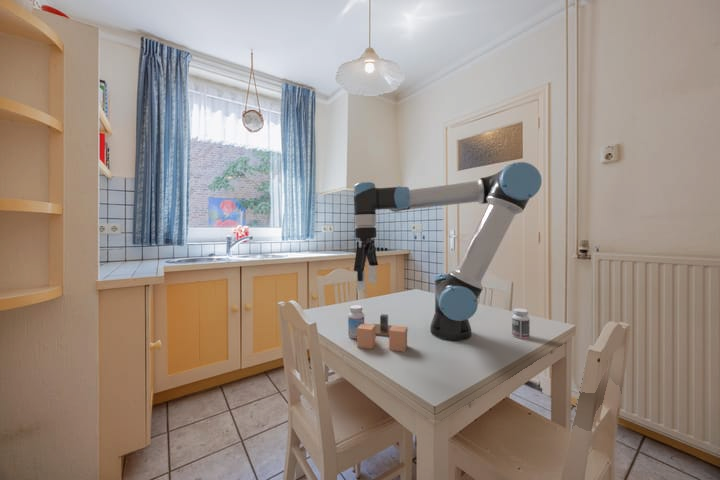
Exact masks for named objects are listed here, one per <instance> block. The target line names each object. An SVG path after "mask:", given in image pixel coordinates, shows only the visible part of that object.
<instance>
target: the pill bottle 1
mask: <svg viewBox="0 0 720 480" xmlns="http://www.w3.org/2000/svg"><path fill="white" fill-rule="evenodd" d="M349 310H350V311H349V312H348V314H347V315H348V316H347V317H348V318H347V321H348V322H347V326H348V329H347V331H348V337H349V338H350V339H356V340H357V328H358V327H359V326H360V324H361V323H363V324H365V313H364V312H363V306H362V305H359V304H356V305H351V306H349Z"/></svg>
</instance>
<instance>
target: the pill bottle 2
mask: <svg viewBox="0 0 720 480" xmlns="http://www.w3.org/2000/svg"><path fill="white" fill-rule="evenodd" d="M528 315H529V311H528V310H527V309H524V308H520V307H517V308H513V315H512V317H511V335H512V337H514V338H516V339H524V340H526V339H529V338H530V333H531V331H530V326H531V325H530V323H531V322H530V321H531V319H530V317H529V316H528Z"/></svg>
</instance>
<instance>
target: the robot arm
mask: <svg viewBox="0 0 720 480" xmlns="http://www.w3.org/2000/svg"><path fill="white" fill-rule="evenodd" d="M542 181H543V179H542V175H541V173H540V171H539V169H538V168H537V167H536V166H534V165H533V164H531V163H529V162H526V161H519V162H514V163H511V164H508V165H506V166H505V167H504V168H503V169H501V170H500V171H498V172H497V173H494V174H492V175H489V176H486V177H479V178H477V180H475V181H470V182H461V183H459V182H458V183H453V184H452V183H451V184H445V185H437V186H430V187H429V186H428V187H421V188H413V189H410V188H409V187H408V186H399V185H398V186H392V187H378V188H377V186H376V184H375V183H374V182H371V181H368V182H367V181H363V182H362V181H361V182H358V183H355V184H354V185H353V187H354V188H353V206H354V207H353V209H354V218H353V221H354V226H355V228H354V237H355V239H360V240H359V241H356V248H355V249H356V251H355V258H354V267H353V271H354V272H356V286H357V287H356V288H357V289H356V290H357V291H362V292H363V291H364V292H365V291H366V286H367V285H366V270H365V268H366V267H365V266H366V262H368V266H367V267H368V283H369V284H376V283H377V266H379V262H378V257H377V252H376V246H375V244H376V243H375V238H377V227H376V226H377V213H376V212H377V210H378V211H379V210H389V211H391V212H394V213H396V212H401V211H408V210H416V209H425V208H433V207H434V208H435V207H442V206H450V205H458V204H459V205H461V204H468V203H469V204H470V203H479V204H480V205H484V204H488V205H487V207H486V208H485V211H484V213H483V215H482V217H481V219H480V221H479V223H478V225H477V227H476V229H475V230H474V232H473V235H472V236H471V239H470V241H469V243H468V245H467V246H466V249H465V251H464V253H463V255H462V257H461V259H460V261H459V263H458V265H457V267H456V269H454V270H451V271H449V272H448V273H438V274H436V275H435V279H434V285H435V286H434V300H435V301H434V314H433V317H432V320H431V323H430V327H429V328H430V329H429V330H430V333H431V334H432V335H433V336H434V337H436V338H440V339H443V340H446V341H447V340H449V341H465V340H469V339H470V338H471V337H472V327H471V325H470V324H471V323H470V321H469V319H470V318H472V317H473V316H474V315H475V313H476V312H477V309H478V305H479V303H478V299H479V298H480V295H481V293H482V291H483V289H484V287H483V284H482V280H483V278H484V276H485V274H486V272H487V270H488V269H489V267H490V264H491V262H492V261H493V259H494V257H495V255H496V253H497V251H498V249H499V247H500V245H501V243H502V242H503V239H504V237H505V236H506V234H507V232H508V230H509V227H510V226H511V224H512V222H513V220H514V218H515V216H516V215H518V214H521V213H524V210H525V208H526V206H527V204H528V202H529V201H530V199H532V198H533V197H534V196H535V195H537V193H538V192H539V191H540V189H541V186H542Z"/></svg>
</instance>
